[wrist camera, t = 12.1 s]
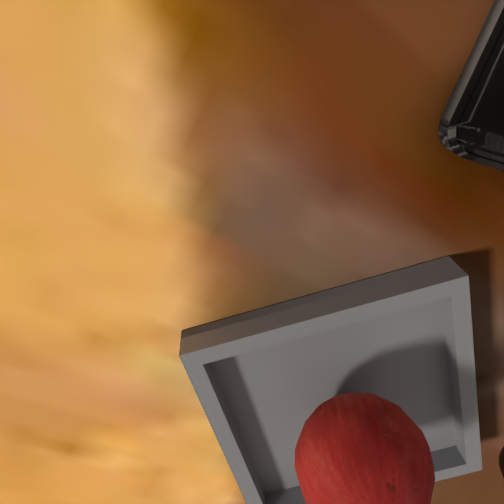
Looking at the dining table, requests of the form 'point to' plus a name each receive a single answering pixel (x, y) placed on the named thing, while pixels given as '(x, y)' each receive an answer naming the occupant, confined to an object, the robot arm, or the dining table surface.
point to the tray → (340, 371)
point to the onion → (363, 454)
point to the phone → (479, 99)
